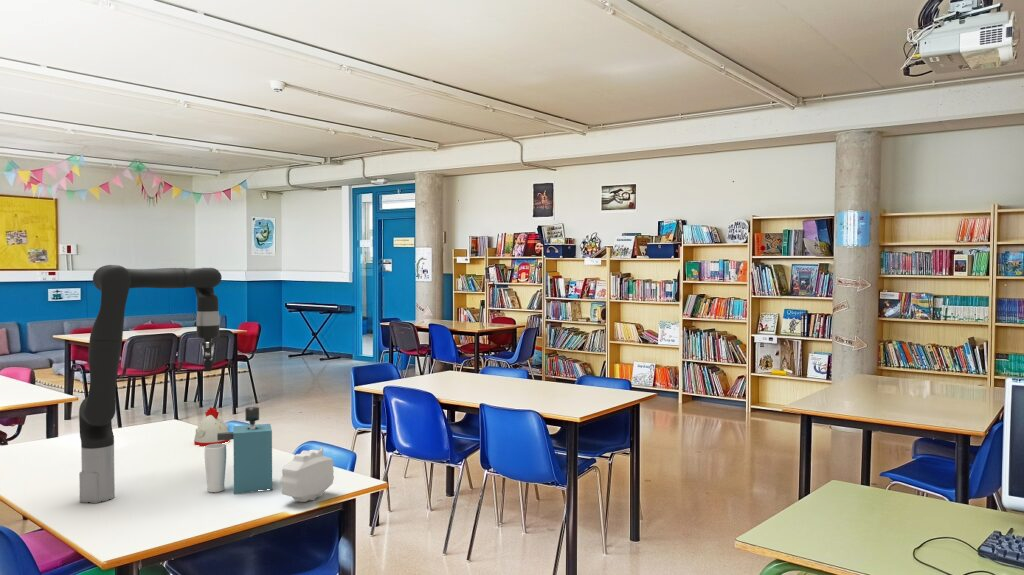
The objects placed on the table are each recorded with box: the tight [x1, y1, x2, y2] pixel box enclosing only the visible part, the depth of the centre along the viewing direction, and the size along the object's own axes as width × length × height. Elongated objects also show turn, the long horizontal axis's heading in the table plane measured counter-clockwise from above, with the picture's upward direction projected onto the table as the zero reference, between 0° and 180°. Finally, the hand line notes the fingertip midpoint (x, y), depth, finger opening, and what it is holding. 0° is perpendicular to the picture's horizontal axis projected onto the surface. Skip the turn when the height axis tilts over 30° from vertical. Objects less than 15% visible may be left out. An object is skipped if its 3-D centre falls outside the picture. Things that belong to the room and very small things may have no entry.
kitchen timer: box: [193, 406, 230, 447], centre depth 318 cm, size 14×14×15 cm
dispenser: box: [217, 423, 273, 494], centre depth 252 cm, size 17×12×20 cm
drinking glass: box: [204, 444, 227, 493], centre depth 249 cm, size 7×7×15 cm
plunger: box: [244, 406, 260, 429], centre depth 253 cm, size 4×4×15 cm
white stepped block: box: [279, 445, 335, 503], centre depth 240 cm, size 11×18×16 cm, turn 152°
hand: (208, 369), depth 265 cm, fingers open, 8 cm apart
